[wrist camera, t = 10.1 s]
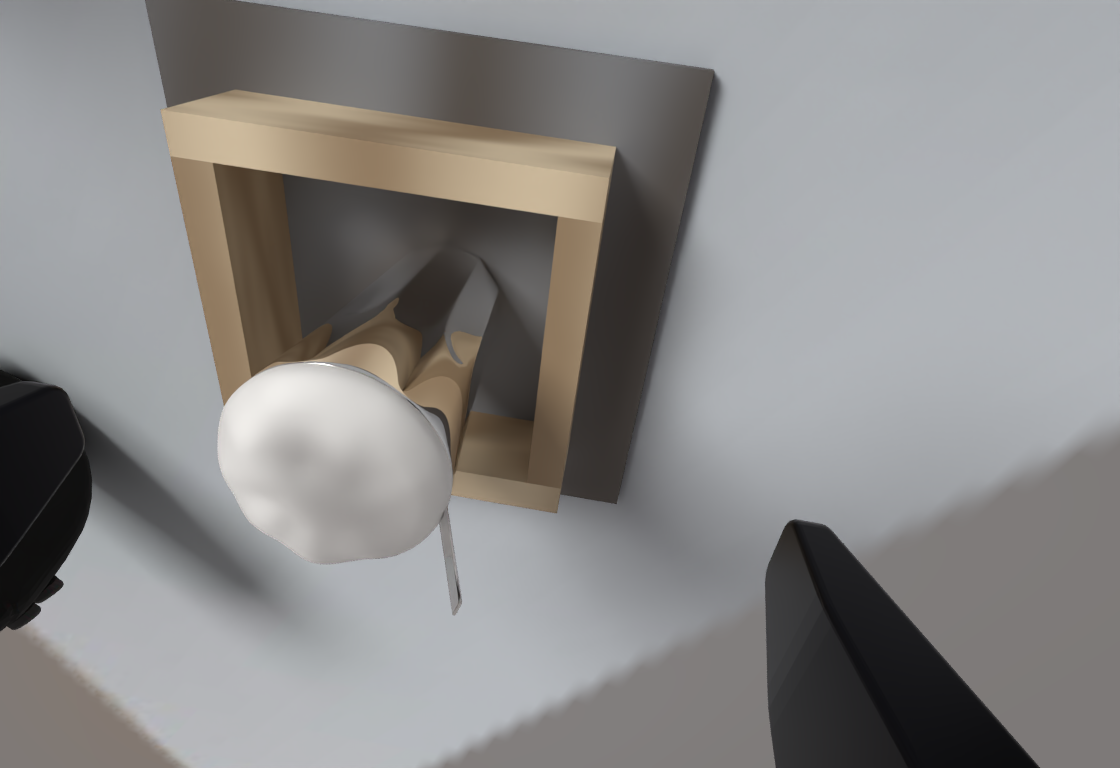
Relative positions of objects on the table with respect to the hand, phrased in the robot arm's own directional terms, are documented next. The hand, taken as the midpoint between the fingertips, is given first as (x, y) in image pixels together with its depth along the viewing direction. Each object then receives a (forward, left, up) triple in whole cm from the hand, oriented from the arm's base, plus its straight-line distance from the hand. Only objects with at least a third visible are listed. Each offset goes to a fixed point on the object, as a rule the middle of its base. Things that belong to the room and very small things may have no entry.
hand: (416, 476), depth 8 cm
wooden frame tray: (+3, +3, -12) cm, 13 cm away
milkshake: (+2, +3, -11) cm, 12 cm away
